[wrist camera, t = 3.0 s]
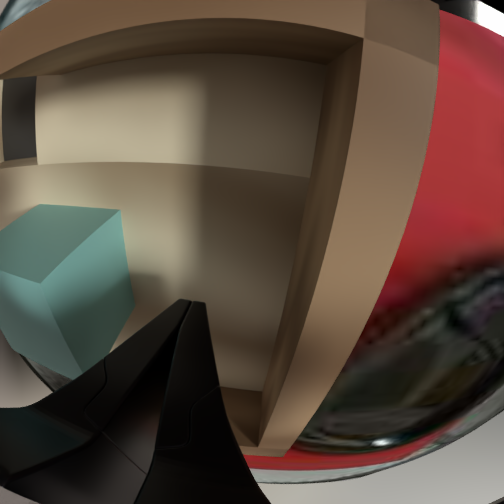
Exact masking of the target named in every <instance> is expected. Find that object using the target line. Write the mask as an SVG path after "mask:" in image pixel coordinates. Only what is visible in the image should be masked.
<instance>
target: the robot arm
mask: <svg viewBox="0 0 504 504" xmlns="http://www.w3.org/2000/svg"><path fill="white" fill-rule="evenodd" d="M0 504H271V503H270V502H269V500H268V499H267V497H266V496H265V495H264V493H263V492H262V490H261V489H260V487H259V486H258V484H257V482H256V481H255V479H254V477H253V475H252V473H251V471H250V469H249V467H248V465H247V463H246V460H245V458H244V456H243V454H242V451H241V449H240V447H239V444H238V442H237V440H236V437H235V435H234V432H233V430H232V427H231V424H230V422H229V419H228V416H227V413H226V409H225V405H224V401H223V397H222V392H221V388H220V382H219V377H218V372H217V367H216V361H215V356H214V350H213V344H212V338H211V333H210V326H209V320H208V314H207V307H206V303H205V302H201V301H193V302H192V301H191V300H188V299H182V298H180V299H178V300H177V301H175V302H174V303H173V304H172V305H170V306H169V307H168V308H166V309H165V310H164V311H163V312H161V313H160V314H159V315H157V316H156V317H155V318H154V319H152V320H151V321H150V322H148V323H147V324H146V325H145V326H143V327H142V328H141V329H139V330H138V331H137V332H136V333H134V334H133V335H132V336H131V337H129V338H128V339H127V340H125V341H124V342H123V343H122V344H120V345H119V346H118V347H117V348H115V349H114V350H113V351H111V352H110V353H109V354H108V355H106V356H105V357H104V359H101V360H100V361H99V362H97V363H96V364H95V365H93V366H92V367H91V368H89V369H88V370H87V371H85V372H84V373H83V374H81V375H80V376H78V377H77V378H75V379H74V380H72V381H71V382H69V383H68V384H66V385H64V386H63V387H61V388H60V389H58V390H56V391H55V392H53V393H51V394H50V395H48V396H47V397H45V398H43V399H42V400H40V401H38V402H36V403H34V404H32V405H29V406H26V407H20V408H0ZM490 504H504V497H502V498H500V499H498V500H496V501H494V502H492V503H490Z"/></svg>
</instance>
